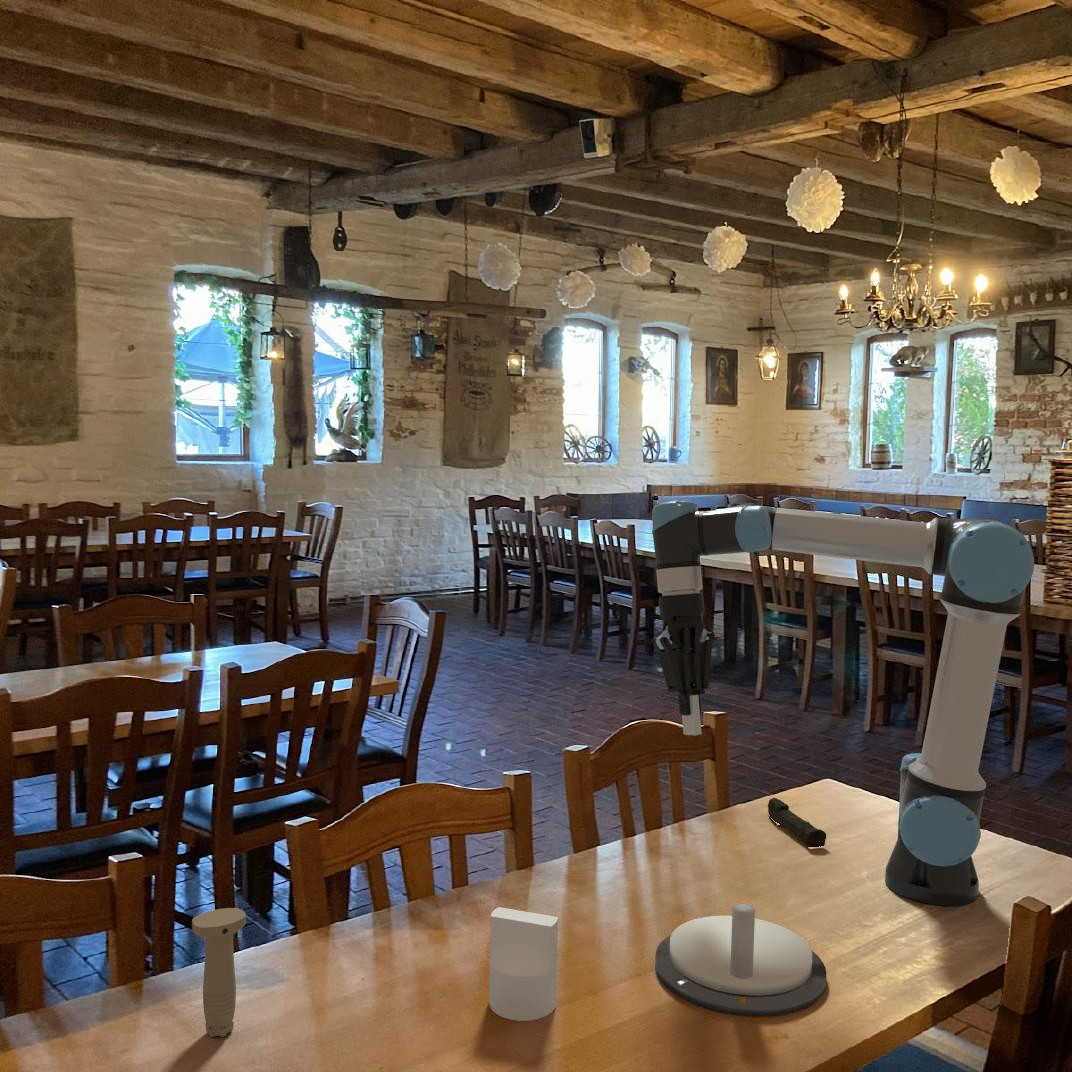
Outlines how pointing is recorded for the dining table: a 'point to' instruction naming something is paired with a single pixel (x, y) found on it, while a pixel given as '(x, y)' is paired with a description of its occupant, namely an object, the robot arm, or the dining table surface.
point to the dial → (741, 954)
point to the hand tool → (795, 824)
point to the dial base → (736, 1002)
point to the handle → (219, 966)
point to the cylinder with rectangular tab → (523, 964)
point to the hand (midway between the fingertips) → (692, 734)
